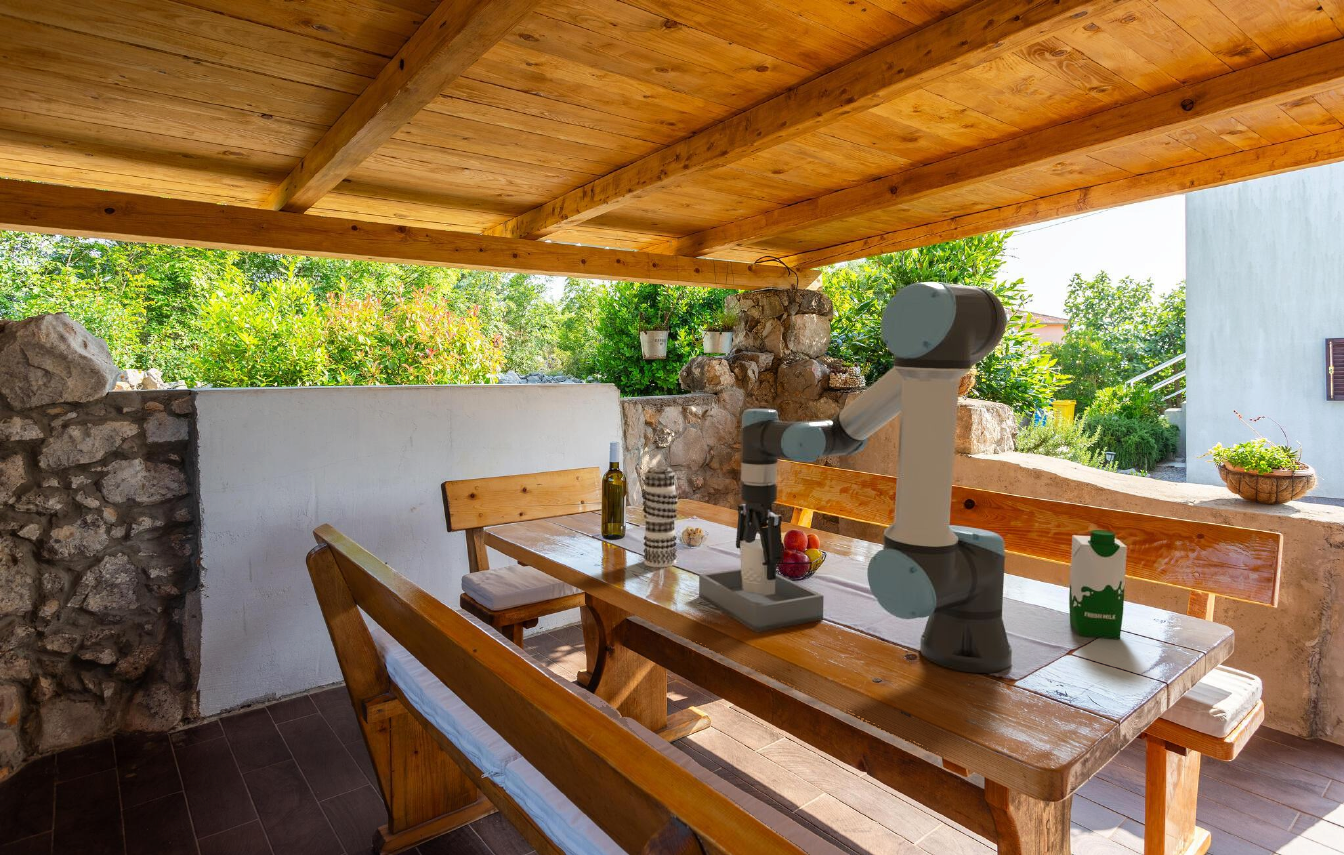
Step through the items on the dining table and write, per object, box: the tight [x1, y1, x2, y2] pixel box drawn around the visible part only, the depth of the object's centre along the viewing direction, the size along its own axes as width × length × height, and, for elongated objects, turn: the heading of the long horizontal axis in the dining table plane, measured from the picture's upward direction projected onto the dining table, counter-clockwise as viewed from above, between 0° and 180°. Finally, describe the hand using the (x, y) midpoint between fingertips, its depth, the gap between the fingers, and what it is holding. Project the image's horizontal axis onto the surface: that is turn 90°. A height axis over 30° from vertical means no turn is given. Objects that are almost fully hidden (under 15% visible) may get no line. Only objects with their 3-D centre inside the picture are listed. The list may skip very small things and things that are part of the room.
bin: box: [698, 568, 825, 633], centre depth 157 cm, size 24×16×5 cm, turn 25°
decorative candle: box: [641, 466, 678, 568], centre depth 191 cm, size 9×9×25 cm
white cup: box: [739, 538, 770, 594], centre depth 157 cm, size 8×8×10 cm
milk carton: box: [1068, 529, 1128, 640], centre depth 142 cm, size 9×9×20 cm
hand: (758, 588), depth 157 cm, fingers closed on white cup, 7 cm apart
